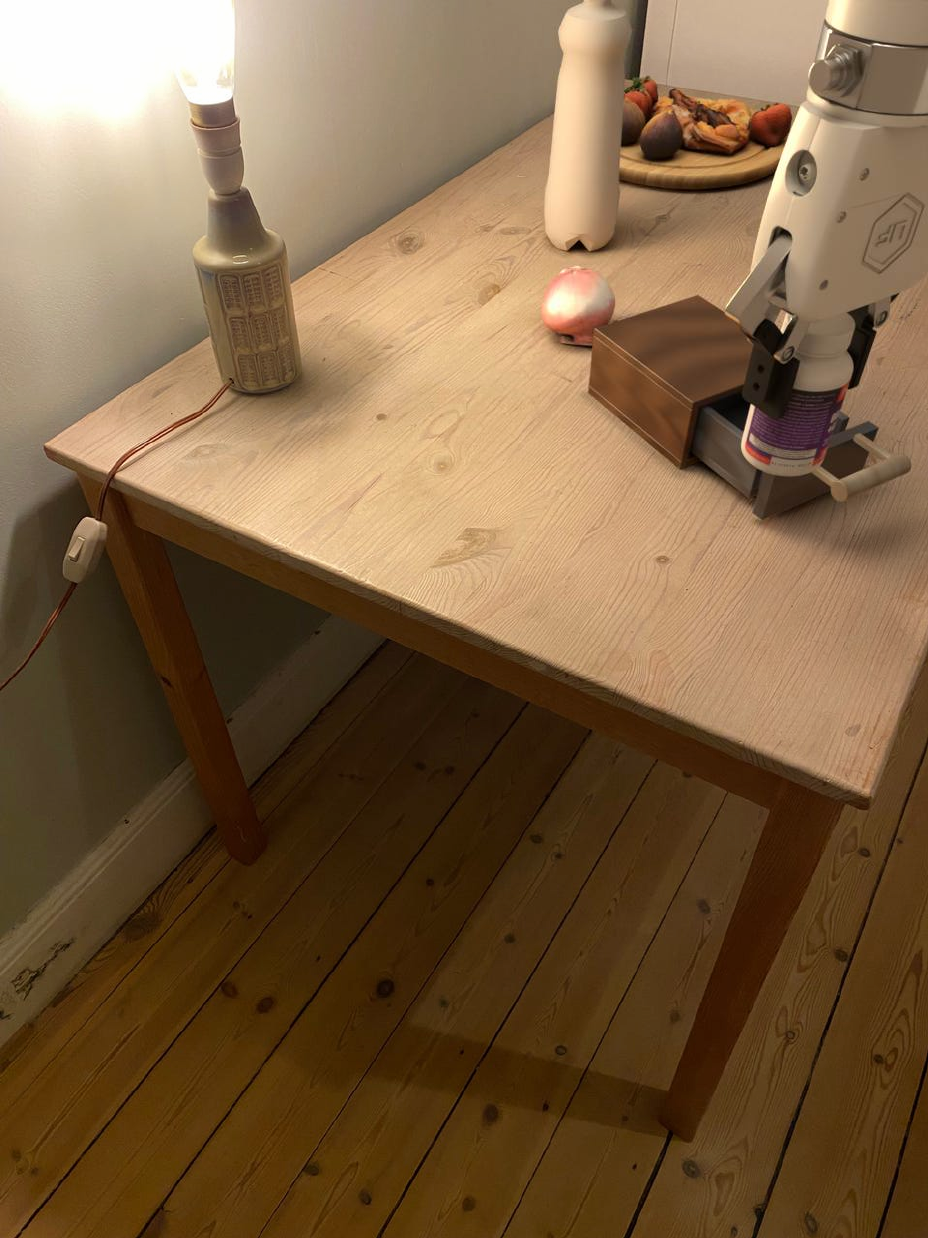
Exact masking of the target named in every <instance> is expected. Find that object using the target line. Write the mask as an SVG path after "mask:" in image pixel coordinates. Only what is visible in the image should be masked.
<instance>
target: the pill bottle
mask: <svg viewBox="0 0 928 1238" xmlns="http://www.w3.org/2000/svg"><path fill="white" fill-rule="evenodd" d="M785 313H786V314H785V315H784V318H783V323H782V326H781V328H780V331H781V332H782V333H784V331H785V329H786V327H787V325H788V323H789V321H790V319H791V317H792V315H790V314H789V313H787V312H785ZM854 329H855V321H854V319H853V318H852V317H851V316H850V315H849V314H848V313H844V314H841V315H838V316H835V317H833V318H830V319H827V320H823V321H820V322H815V323H810V325H809V327H808V329H807V331H806V333H805V335H804V337H803V339H802V341H801V343H800V345H799V347H798V349H797V351H796V353H795V355H794V357H795V358H797V359H798V360H799V361H800V365H799V369H798V372H797V376H796V379H795V383H794V386H793V390H792V393H791V397H790V400H789V404H788V407H787V411H786V413H785V415H784V417H782V418H779V419H777V420H774V419H772V418H770V417H769V416H768V415H766V414H765V413H763V412H762V411H760V410H759V409H758V408H756V407H755V406H753V405H752V404H750V408H749V413H748V417H747V420H746V425H745V428H744V432H743V437H742V443H741V449H742V453H743V455H744V457H745V458H746V459H747V460H748V462H749V463H751V464H752V465H753V466H755V467H756V468H758V469H760V470H762V471H764V472H766V473H769V474H773V475H778V476H800V475H804V474H808V473H810V472H812V471H814V470H816V469H817V468H818V467H819V466H820V465H821V464H822V462H823V460H824V457H825V455H826V452H827V449H828V446H829V443H830V440H831V437H832V434H833V431H834V428H835V425H836V422H837V419H838V416H839V413H840V411H841V409H842V407H843V404H844V402H845V401H844V400H845V398H846V395H847V392H848V390H849V389H848V386H849V383H850V380H851V377H852V373H853V361H852V358H851V356H850V354H849V353H848V352H847V351H846V350H847V349H848V347H849V345H850V343H851V339H852V336H853V332H854Z"/></svg>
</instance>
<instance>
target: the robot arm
mask: <svg viewBox="0 0 928 1238" xmlns="http://www.w3.org/2000/svg"><path fill="white" fill-rule="evenodd" d="M824 16H825V17H824V20H823V23H822V27H821V30H820V34H819V35H820V36H819V39H818V44H817V49H816V53H815V56H814V61H813V63H812V65H811V66H810V68H809V71H808V76H807V77H808V78H807V79H808V87H807V91H806V100H805V101H803V102H801V104H800V106H799V108H798V111H797V113H796V116H795V118H794V121H793V123H792V124H791V127H790V132H789V133H788V134H789V136H788V139H787V141H786V144H785V147H784V149H783V152H782V155H781V158H780V161H779V164H778V167H777V170H776V171H775V172H774V176H773V179H772V183H771V186H770V189H769V192H768V195H767V200H766V203H765V206H764V210H763V212H762V217H761V221H760V225H759V229H758V232H757V237H756V240H755V243H754V248H753V249H754V250H753V255H752V259H751V264H750V265H751V266H750V273H749V274H748V276H747V277H746V278H745V280H744V281H743V283H742V284H741V285H740V286H739V287H738V289H737V291H735V293H734V295H733V296H732V297H731V299H730V300H729V301H728V303H727V304H726V306H725V308H724V312H725V315H726V316H727V317H728V318H729V319H730V320H731V321H733V322H734V323H735V324H736V325H737V326H738V327H739V328H740V330H741V331H742V332H743V333H744V334H745V335H746V337H747V341H748V342H749V343H750V344H752V345H753V349H752V353H751V357H750V361H749V366H748V370H747V374H746V378H745V382H744V386H743V390H742V396H743V398H744V399H745V400H746V401H747V402H749V403H750V404H752V405H753V406H755V407H756V408H758V409H759V410H760V411H762V412H763V413H765V414H766V415H768V416H769V417H770V418H772V419H774V420H777V419H779V418H782V417H784V415H785V413H786V411H787V407H788V404H789V400H790V397H791V393H792V390H793V386H794V383H795V379H796V376H797V372H798V369H799V365H800V361H799V360H798V359H797V358H795V357H794V355H795V353H796V351H797V349H798V347H799V345H800V343H801V341H802V339H803V337H804V335H805V333H806V331H807V329H808V327H809V325H810V323H815V322H820V321H823V320H827V319H830V318H833V317H835V316H838V315H841V314H844V313H848V314H849V315H850V316H851V317H852V318H853V319H854V321H855V329H854V332H853V336H852V339H851V343H850V345H849V347H848V349H847V350H846V351H847V352H848V353H849V354H850V356H851V358H852V361H853V373H852V377H851V380H850V383H849V386H848V389H847V390H848V391H849V390H852V389H854V388H855V389H856V388H857V387H858V386H859V385H860V382H861V379H862V376H863V374H864V370H865V368H866V365H867V362H868V359H869V356H870V353H871V350H872V348H873V345H874V342H875V339H876V335H877V333H878V331H877V330H875V329H879V328H881V327H882V326H883V325H884V324H885V323H886V322H887V321H888V319H889V317H890V313H891V304H892V303H893V302H894V301H895V300H896V299H897V297H899V295H900V293H903V292H904V291H907V290H909V289H911V288H913V287H915V286H916V285H918V284H919V283H920V282H921V281H922V280H923V279H924V278H925V277H926V275H927V273H928V0H828V4H827V8H826V12H825V15H824ZM781 311H783V312H785V313H789V314H790V315H792V317H791V319H790V321H789V323H788V325H787V327H786V329H785V331H784V333H782V332H781V328H779V327H778V325H777V324H776V321H777V319H778V317H779V316H780V315H779V314H780V312H781ZM874 328H875V329H874Z"/></svg>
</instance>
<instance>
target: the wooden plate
mask: <svg viewBox="0 0 928 1238" xmlns="http://www.w3.org/2000/svg"><path fill="white" fill-rule="evenodd" d="M631 81H632V85H631V86H627V87H626V88H624V102H623V118H622V135H621V151H620V167H619V180H621V181H625V182H629V183H633V184H637V185H642V186H647V187H656V188H664V189H675V190H707V189H709V190H710V189H718V188H719V189H720V188H727V187H734V186H739V185H744V184H748V183H751V182H754V181H755V182H756V181H758V180H761V179H763V178H765V177H767V176H769V175H772V174H773V173H776V170H777V167H778V164H779V161H780V158H781V155H782V152H783V149H784V147H785V144H786V141H787V139H788V136H789V133H790V131H791V128H792V121H793V114H792V110H791V107H790V106H789V105H787V104H786V103H781V102H775V103H774V104H765V106H764V107H760V110H758V111H757V110H754V109H751V108H750V107H749V106H748V105H747V104H746V103H744V102H742V101H739V100H738V99H735V98H729V99H726V98H719V99H716V100H715V99H712V98H711V99H710V98H702V97H696V96H692V95H686V94H685V93H684V92H682V91H681V90H680V89H677V88H672V89H670V90H669V91H668V95H663V96H659V91H658V85H657V83H656V81H655V80H654V79H652V78H651V75H645V76H644V77H633V78H632V79H631Z"/></svg>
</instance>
